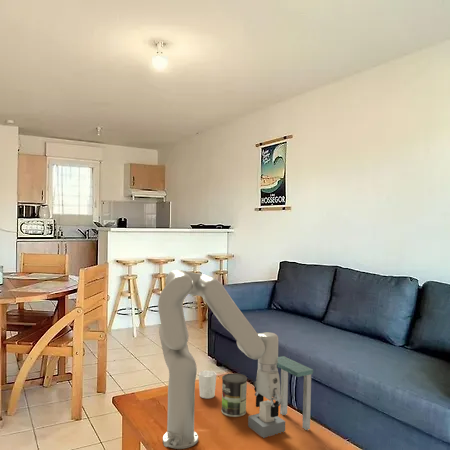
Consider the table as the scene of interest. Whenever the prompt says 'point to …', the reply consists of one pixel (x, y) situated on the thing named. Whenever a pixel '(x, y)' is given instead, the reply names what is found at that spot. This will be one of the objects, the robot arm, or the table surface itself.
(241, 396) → the coffee can
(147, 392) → the table surface
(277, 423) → the socket
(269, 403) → the peg
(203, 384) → the white cup
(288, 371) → the green-topped leg bench
